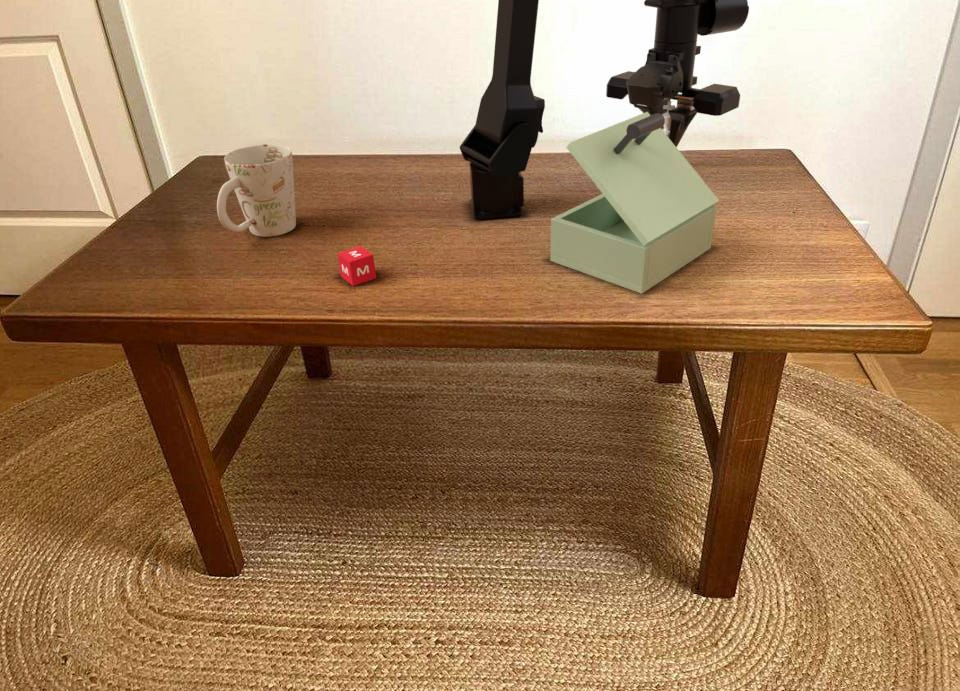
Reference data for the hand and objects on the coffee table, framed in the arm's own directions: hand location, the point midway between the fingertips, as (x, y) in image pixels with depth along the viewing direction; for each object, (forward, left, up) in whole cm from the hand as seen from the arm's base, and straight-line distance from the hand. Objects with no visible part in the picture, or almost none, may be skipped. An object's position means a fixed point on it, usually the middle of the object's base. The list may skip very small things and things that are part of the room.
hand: (664, 151), depth 108 cm
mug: (-58, -13, -3) cm, 60 cm away
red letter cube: (-45, -28, -3) cm, 53 cm away
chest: (-13, -28, -3) cm, 31 cm away
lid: (-13, -29, +7) cm, 32 cm away
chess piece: (0, 0, -3) cm, 3 cm away
